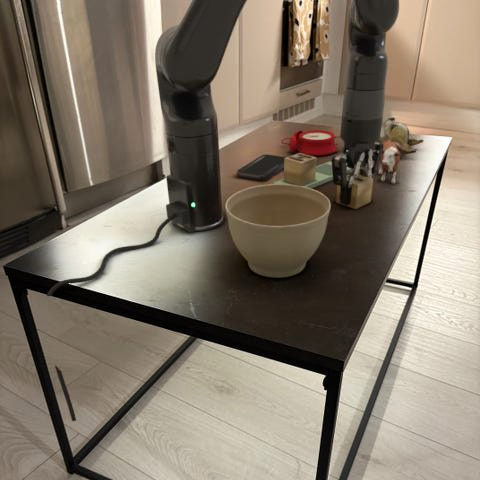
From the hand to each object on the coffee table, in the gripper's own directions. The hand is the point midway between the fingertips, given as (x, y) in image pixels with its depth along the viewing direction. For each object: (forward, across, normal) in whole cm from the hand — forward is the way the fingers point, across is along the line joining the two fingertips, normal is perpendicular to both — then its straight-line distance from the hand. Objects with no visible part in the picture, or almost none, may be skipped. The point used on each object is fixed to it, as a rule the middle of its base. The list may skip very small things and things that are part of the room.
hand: (353, 199), depth 104 cm
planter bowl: (+1, +30, +7) cm, 31 cm away
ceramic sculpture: (+1, -34, -14) cm, 37 cm away
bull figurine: (+1, -17, -3) cm, 17 cm away
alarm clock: (+1, -21, -30) cm, 37 cm away
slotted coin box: (+1, 0, 0) cm, 1 cm away
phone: (+1, -2, -28) cm, 28 cm away
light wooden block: (0, 0, -15) cm, 15 cm away
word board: (+1, -5, -15) cm, 16 cm away
